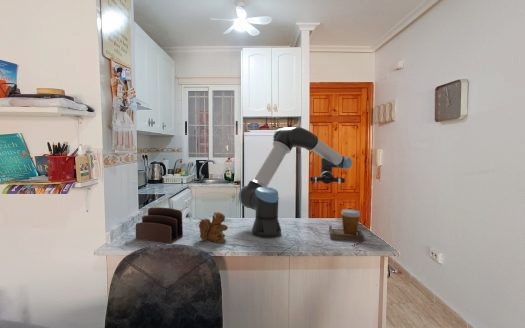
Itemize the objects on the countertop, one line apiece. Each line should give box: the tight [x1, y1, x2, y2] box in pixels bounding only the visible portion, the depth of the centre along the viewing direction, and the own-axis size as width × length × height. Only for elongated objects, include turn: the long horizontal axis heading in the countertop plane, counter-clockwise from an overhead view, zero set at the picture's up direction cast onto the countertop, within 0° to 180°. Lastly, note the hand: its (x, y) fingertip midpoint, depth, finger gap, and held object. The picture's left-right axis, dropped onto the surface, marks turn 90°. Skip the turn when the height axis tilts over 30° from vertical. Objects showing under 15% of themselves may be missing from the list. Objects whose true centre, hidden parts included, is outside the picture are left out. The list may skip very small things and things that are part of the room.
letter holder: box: [135, 207, 184, 244], centre depth 130 cm, size 10×20×14 cm, turn 74°
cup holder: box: [328, 225, 365, 242], centre depth 137 cm, size 15×15×3 cm
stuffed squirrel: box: [198, 211, 229, 244], centre depth 128 cm, size 10×14×13 cm
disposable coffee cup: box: [340, 208, 361, 235], centre depth 137 cm, size 10×10×12 cm
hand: (327, 181), depth 153 cm, fingers open, 13 cm apart
